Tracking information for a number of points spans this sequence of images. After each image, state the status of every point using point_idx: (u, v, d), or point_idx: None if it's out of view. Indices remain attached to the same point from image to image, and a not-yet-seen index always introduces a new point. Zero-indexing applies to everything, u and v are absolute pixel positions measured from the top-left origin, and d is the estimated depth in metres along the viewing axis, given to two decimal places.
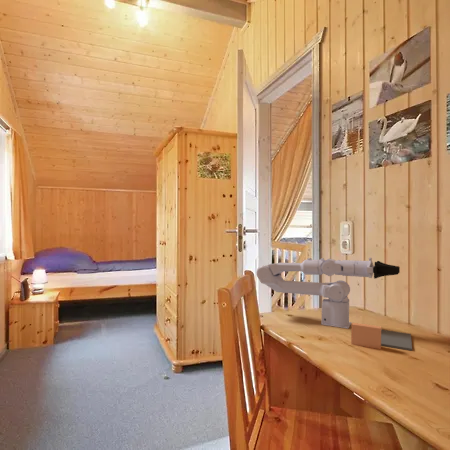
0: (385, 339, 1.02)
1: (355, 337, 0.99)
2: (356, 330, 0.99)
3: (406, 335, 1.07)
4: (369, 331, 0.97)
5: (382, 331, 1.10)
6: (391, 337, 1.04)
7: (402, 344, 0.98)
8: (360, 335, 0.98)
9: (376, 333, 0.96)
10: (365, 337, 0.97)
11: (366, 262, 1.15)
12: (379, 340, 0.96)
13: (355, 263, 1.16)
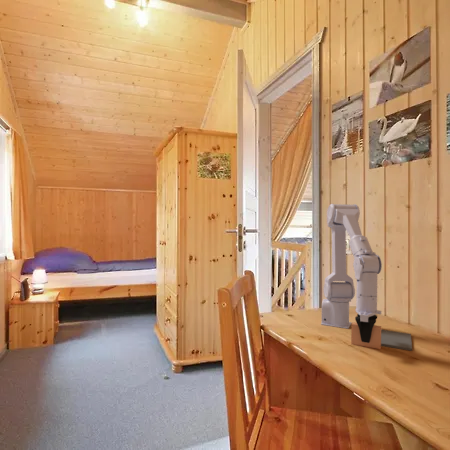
0: (385, 339, 1.02)
1: (355, 337, 0.99)
2: (356, 330, 0.99)
3: (406, 335, 1.07)
4: None
5: (382, 331, 1.10)
6: (391, 337, 1.04)
7: (402, 344, 0.98)
8: None
9: (376, 333, 0.96)
10: None
11: (374, 309, 0.96)
12: (379, 340, 0.96)
13: (372, 297, 0.96)
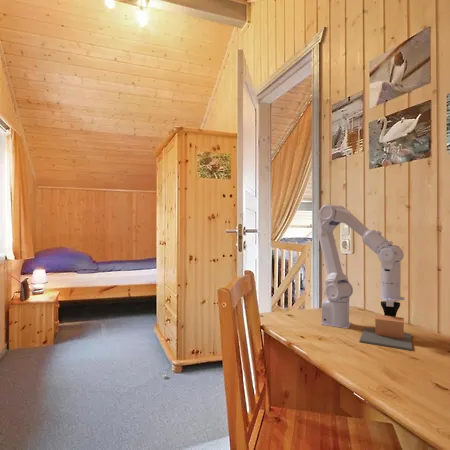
0: (385, 339, 1.02)
1: (379, 329, 1.06)
2: (380, 323, 1.05)
3: (406, 335, 1.07)
4: (392, 324, 1.03)
5: None
6: (391, 337, 1.04)
7: (402, 344, 0.98)
8: (383, 327, 1.05)
9: (399, 326, 1.02)
10: (388, 329, 1.04)
11: (398, 295, 1.05)
12: (402, 331, 1.03)
13: (396, 284, 1.04)
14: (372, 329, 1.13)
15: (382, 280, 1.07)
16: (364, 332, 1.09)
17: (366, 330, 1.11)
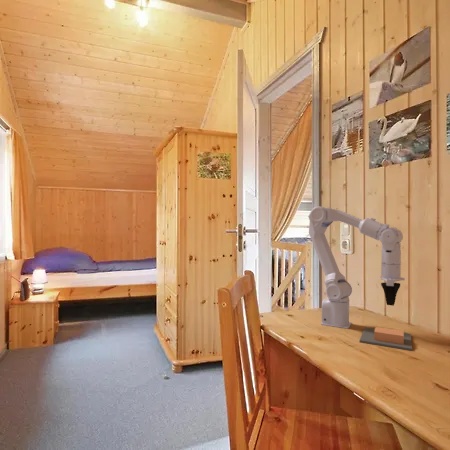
0: None
1: None
2: None
3: (406, 335, 1.07)
4: None
5: None
6: None
7: (402, 344, 0.98)
8: None
9: None
10: None
11: (398, 276, 1.07)
12: None
13: (397, 265, 1.06)
14: (372, 329, 1.13)
15: (383, 261, 1.08)
16: (364, 332, 1.09)
17: (366, 330, 1.11)
